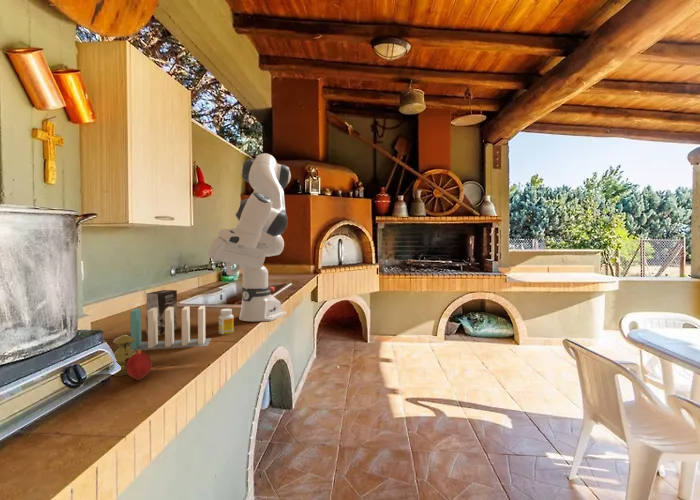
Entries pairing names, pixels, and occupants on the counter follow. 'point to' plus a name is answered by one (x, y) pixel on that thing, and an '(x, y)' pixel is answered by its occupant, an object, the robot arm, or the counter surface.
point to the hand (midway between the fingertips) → (230, 274)
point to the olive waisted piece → (123, 352)
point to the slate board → (175, 345)
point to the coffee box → (161, 307)
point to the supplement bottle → (226, 322)
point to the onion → (138, 365)
